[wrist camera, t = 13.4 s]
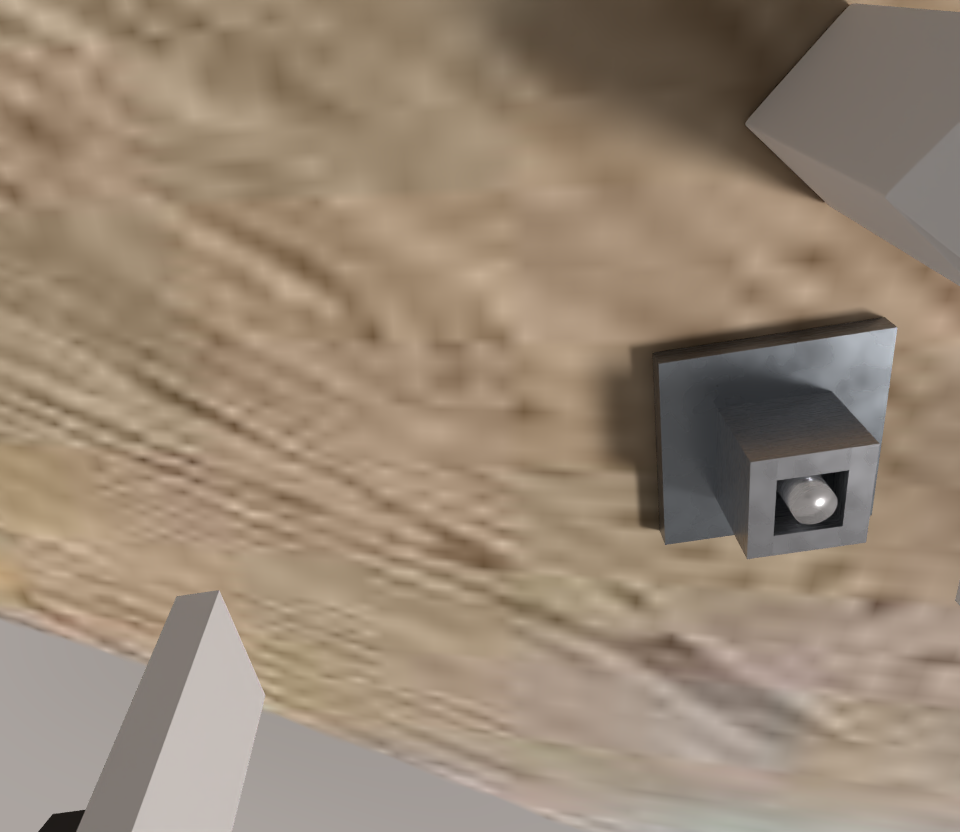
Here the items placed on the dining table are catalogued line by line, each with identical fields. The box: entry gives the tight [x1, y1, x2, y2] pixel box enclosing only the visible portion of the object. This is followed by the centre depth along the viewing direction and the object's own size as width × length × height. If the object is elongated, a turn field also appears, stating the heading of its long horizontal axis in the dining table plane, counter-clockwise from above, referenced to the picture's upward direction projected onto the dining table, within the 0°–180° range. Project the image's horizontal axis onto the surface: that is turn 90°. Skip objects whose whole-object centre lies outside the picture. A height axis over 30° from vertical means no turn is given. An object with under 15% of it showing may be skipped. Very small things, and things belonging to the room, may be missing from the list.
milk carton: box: [745, 4, 960, 286], centre depth 32 cm, size 7×7×19 cm
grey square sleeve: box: [716, 391, 880, 559], centre depth 46 cm, size 7×7×6 cm
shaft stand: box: [653, 317, 897, 545], centre depth 46 cm, size 14×14×8 cm
